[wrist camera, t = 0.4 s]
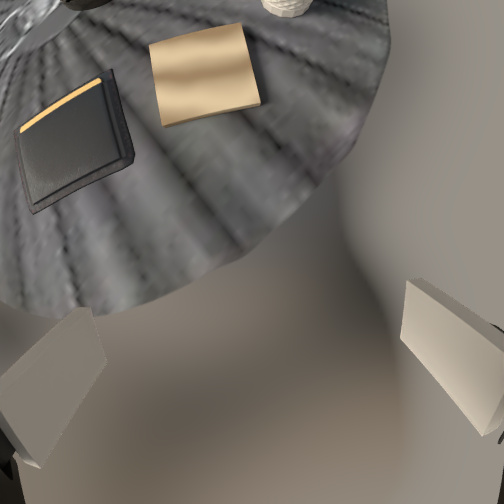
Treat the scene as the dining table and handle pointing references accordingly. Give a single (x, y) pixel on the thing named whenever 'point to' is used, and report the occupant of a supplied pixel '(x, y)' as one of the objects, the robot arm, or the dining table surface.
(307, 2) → the white cup
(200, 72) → the oak coaster board
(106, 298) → the dining table surface
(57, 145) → the black book
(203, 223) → the dining table surface
